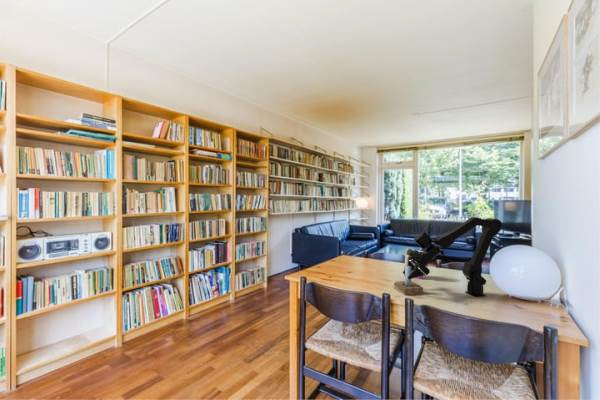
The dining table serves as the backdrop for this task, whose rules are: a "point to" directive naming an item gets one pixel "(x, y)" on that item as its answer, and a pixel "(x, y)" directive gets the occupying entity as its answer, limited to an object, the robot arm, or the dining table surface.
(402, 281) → the mat
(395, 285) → the hole block
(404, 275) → the candy bar box
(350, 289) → the dining table surface
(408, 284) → the peg
